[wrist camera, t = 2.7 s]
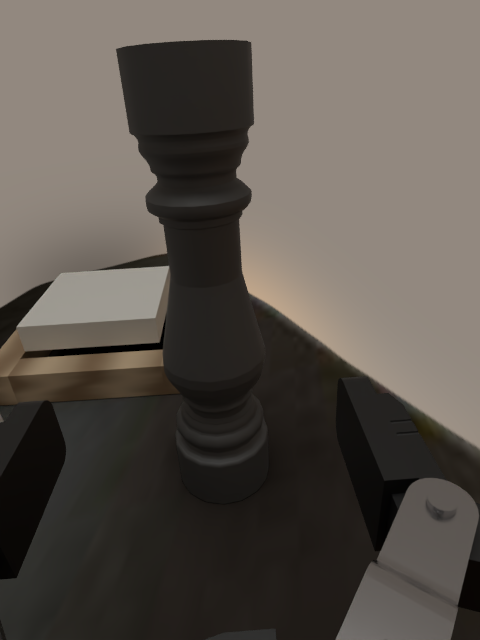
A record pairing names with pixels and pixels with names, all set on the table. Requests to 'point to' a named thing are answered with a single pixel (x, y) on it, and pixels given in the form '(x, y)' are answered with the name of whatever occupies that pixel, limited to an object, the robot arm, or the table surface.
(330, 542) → the table surface
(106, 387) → the stand
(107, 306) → the platform
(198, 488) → the candle holder
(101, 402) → the table surface
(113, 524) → the table surface
